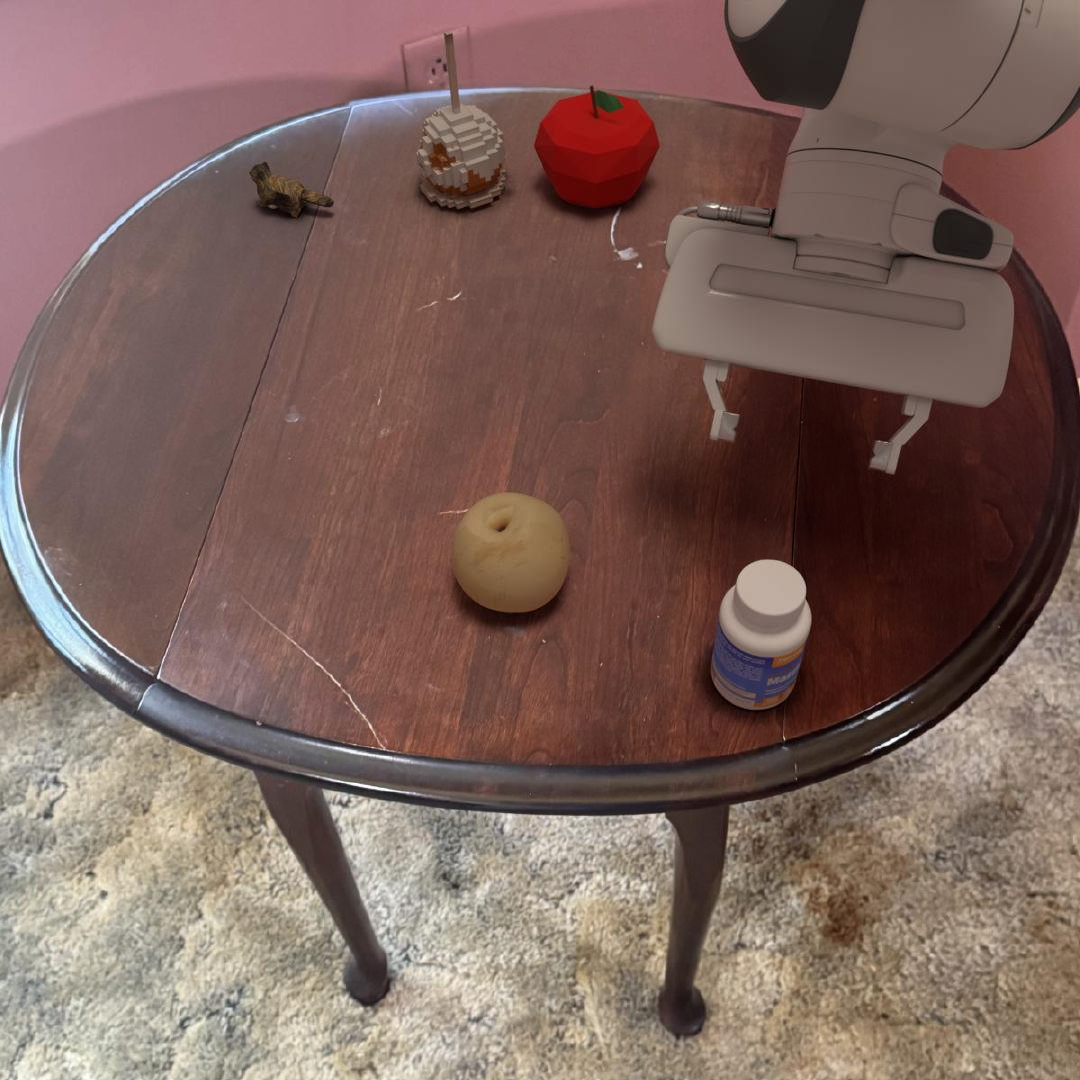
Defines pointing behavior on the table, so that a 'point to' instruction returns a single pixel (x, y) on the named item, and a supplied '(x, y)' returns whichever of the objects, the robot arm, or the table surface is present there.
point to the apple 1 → (511, 552)
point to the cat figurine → (284, 191)
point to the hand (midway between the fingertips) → (800, 456)
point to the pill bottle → (761, 635)
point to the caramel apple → (460, 150)
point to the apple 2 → (596, 148)
